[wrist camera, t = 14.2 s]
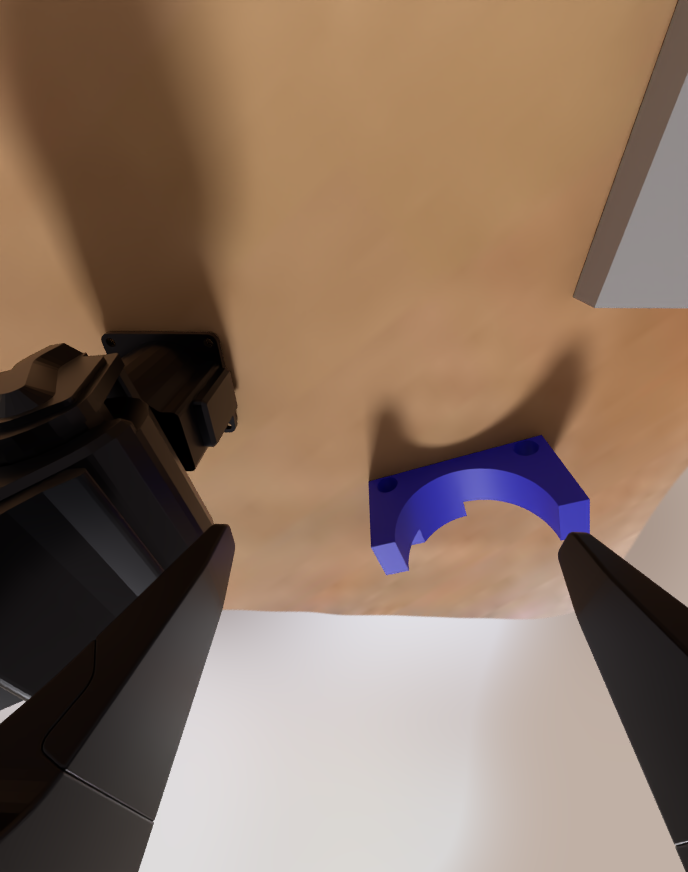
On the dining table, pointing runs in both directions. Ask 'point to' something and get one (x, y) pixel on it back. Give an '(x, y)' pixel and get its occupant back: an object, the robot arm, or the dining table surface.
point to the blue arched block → (472, 496)
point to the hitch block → (648, 197)
